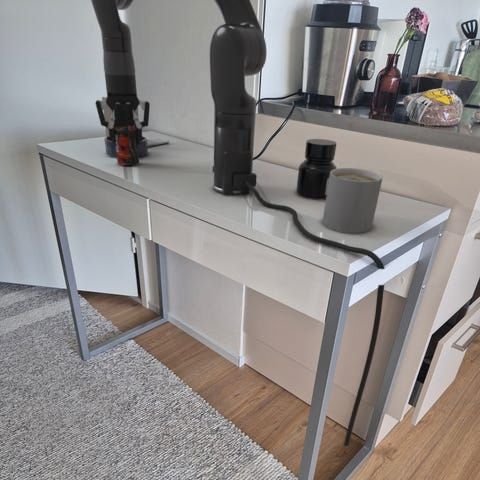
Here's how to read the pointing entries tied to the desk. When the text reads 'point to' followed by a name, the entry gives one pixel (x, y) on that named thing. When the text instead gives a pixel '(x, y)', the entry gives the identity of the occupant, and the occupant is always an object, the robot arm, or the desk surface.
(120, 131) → the deodorant
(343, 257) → the desk surface
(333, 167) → the ink bottle
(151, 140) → the laptop
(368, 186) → the coffee mug
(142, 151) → the bowl
